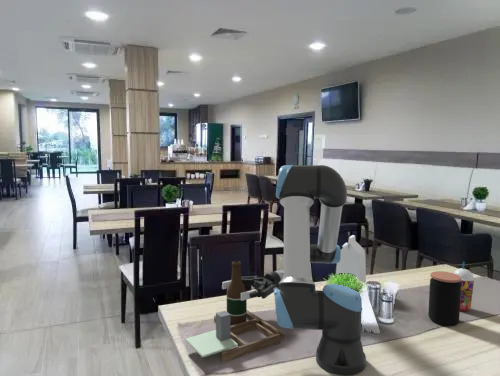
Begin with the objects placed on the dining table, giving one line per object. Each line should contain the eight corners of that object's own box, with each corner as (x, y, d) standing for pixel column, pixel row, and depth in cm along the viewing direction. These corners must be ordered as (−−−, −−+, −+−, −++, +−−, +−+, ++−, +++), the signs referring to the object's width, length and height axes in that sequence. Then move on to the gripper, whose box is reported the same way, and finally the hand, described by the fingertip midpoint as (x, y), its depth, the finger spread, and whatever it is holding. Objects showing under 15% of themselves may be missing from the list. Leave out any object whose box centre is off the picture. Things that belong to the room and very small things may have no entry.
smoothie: (468, 315, 153) (471, 266, 151) (446, 308, 159) (448, 261, 157) (475, 309, 158) (478, 262, 156) (454, 303, 164) (456, 258, 163)
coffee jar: (462, 320, 148) (464, 275, 146) (454, 329, 140) (457, 282, 138) (433, 312, 155) (435, 269, 153) (424, 321, 147) (426, 275, 146)
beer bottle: (244, 328, 140) (244, 265, 138) (223, 326, 142) (223, 264, 140) (248, 319, 148) (248, 259, 146) (229, 317, 149) (229, 258, 147)
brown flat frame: (286, 340, 132) (286, 332, 132) (222, 362, 118) (222, 353, 117) (243, 312, 154) (243, 305, 154) (185, 328, 140) (185, 320, 140)
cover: (237, 345, 122) (237, 319, 121) (202, 357, 115) (202, 329, 114) (218, 330, 132) (218, 306, 131) (185, 340, 125) (184, 314, 124)
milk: (359, 297, 171) (361, 240, 169) (334, 292, 177) (336, 237, 175) (365, 288, 182) (367, 235, 179) (342, 284, 187) (343, 232, 185)
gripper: (296, 299, 144) (249, 312, 133) (258, 281, 165) (215, 290, 153) (296, 280, 144) (249, 291, 132) (258, 264, 164) (215, 272, 153)
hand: (231, 291), depth 143 cm, fingers open, 13 cm apart
